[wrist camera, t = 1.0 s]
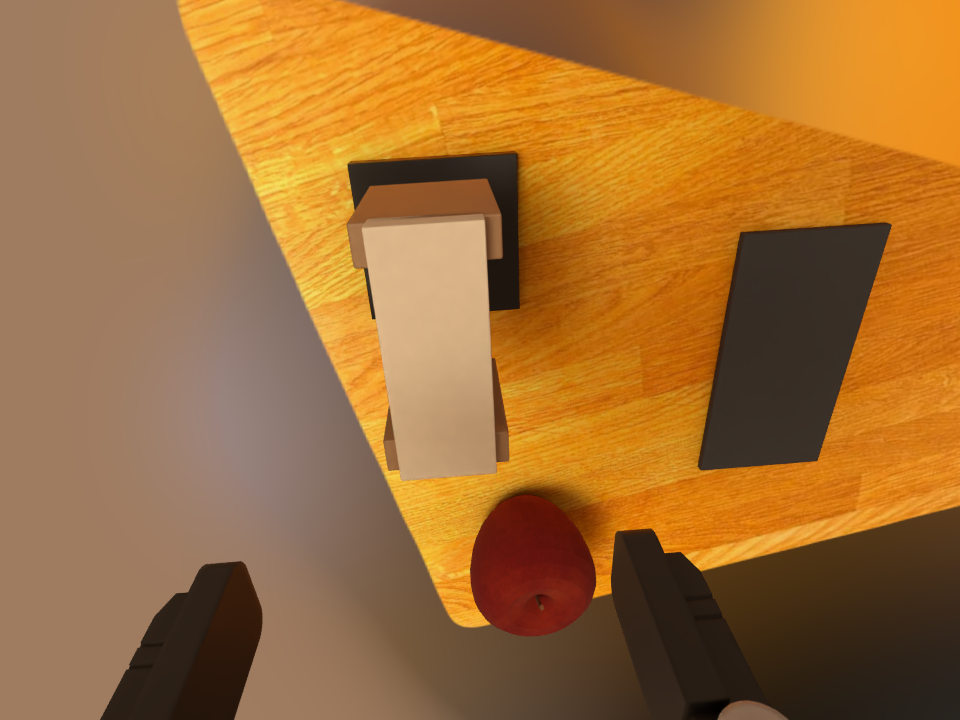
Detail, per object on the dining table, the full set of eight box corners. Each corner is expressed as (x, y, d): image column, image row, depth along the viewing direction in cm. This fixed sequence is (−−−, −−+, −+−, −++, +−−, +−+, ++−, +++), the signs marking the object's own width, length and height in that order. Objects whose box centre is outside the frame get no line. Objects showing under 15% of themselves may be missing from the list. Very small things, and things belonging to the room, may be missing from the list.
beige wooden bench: (369, 185, 24) (342, 229, 17) (487, 178, 24) (503, 218, 17) (398, 391, 29) (386, 482, 22) (496, 383, 29) (511, 472, 23)
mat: (740, 232, 36) (744, 234, 36) (885, 222, 36) (892, 224, 36) (697, 466, 46) (700, 470, 45) (813, 456, 46) (817, 461, 45)
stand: (349, 161, 32) (279, 233, 18) (515, 150, 33) (569, 213, 19) (373, 313, 37) (332, 462, 23) (517, 303, 38) (563, 444, 24)
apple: (581, 543, 49) (611, 646, 40) (478, 562, 50) (486, 669, 41) (569, 463, 45) (601, 560, 36) (456, 485, 45) (460, 587, 36)
